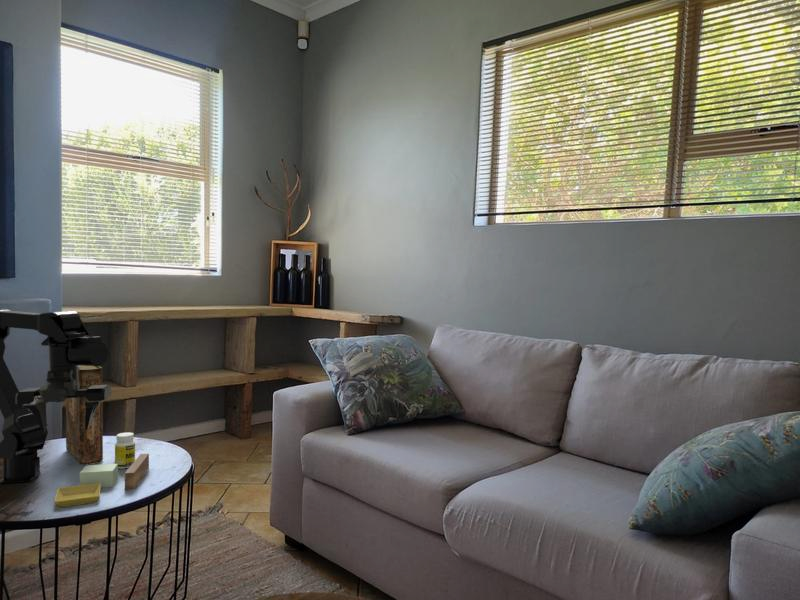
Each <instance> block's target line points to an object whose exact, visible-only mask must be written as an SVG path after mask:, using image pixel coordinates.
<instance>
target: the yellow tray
mask: <svg viewBox="0 0 800 600" xmlns="http://www.w3.org/2000/svg"><path fill="white" fill-rule="evenodd" d="M101 489H102V487H101V483H94V484H86V485H80V484H79V485H73V486H72V485H70V486H63V487H58V488H57V490H56V494H55V497H54V500H53V501H54V503H55V504H56V505H57V506H59V507H60V508H63V507H64V508H65V507H71V506H78V505H84V504H85V505H86V504H91V503H96V502H97V500H98V499H99V498H100V496H101Z"/></svg>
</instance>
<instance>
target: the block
mask: <svg viewBox="0 0 800 600" xmlns="http://www.w3.org/2000/svg"><path fill="white" fill-rule="evenodd" d="M118 478H119V469H118V464H115V463H108V464H88V465H84V467H83V468H82V470H81V471H80V472H79V485H86V484H94V483H101V488H113V487H114V486H115V484H117V481H118V480H119V479H118Z"/></svg>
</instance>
